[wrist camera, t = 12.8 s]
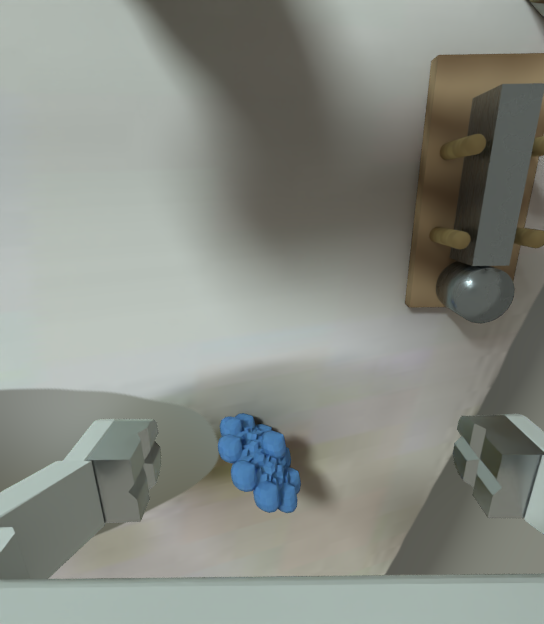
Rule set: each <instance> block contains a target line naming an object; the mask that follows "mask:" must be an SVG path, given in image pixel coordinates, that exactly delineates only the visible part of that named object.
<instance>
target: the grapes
mask: <svg viewBox="0 0 544 624" xmlns="http://www.w3.org/2000/svg"><path fill="white" fill-rule="evenodd" d="M220 432H221V435H222V437H221V438H220V439H219V442H218V451H219V454H220V457H221V458H222V459H223V460H224V461H226V462H229V463H234V464H233V465H232V469H231V477H232V481H233V484H234V485H235V487H237V488H238V489H239V490H241V491H244V492H249V491H253V489H254V491H253V493H254V500H255V503H256V505H257V506H258V507H259V508H260V509H261V510H263V511H265V512H268V513H270V512H275V511H276V510H277V509H279V510H280V511H282V512H285V513H291V512H293V511H294V510H295V509H296V507H297V495H296V494H297V493H298V492H299V491H300V486H301V481H300V476H299V472H298V471H297V470H295V469H293V468H291V467H290V464H291V457H290V451H289V448H287V447H286V445H285V439H284V436H283V434H281V433H279V432H275V431H272V428H271V427H269V426H267V425H263V424H258V425H256V426H255V422H254V419H253V416H251V415H248V414H244V413H242V414H238V415H237V416H235V418H234V417H225V418H224V419H223V420H221V424H220Z"/></svg>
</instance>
